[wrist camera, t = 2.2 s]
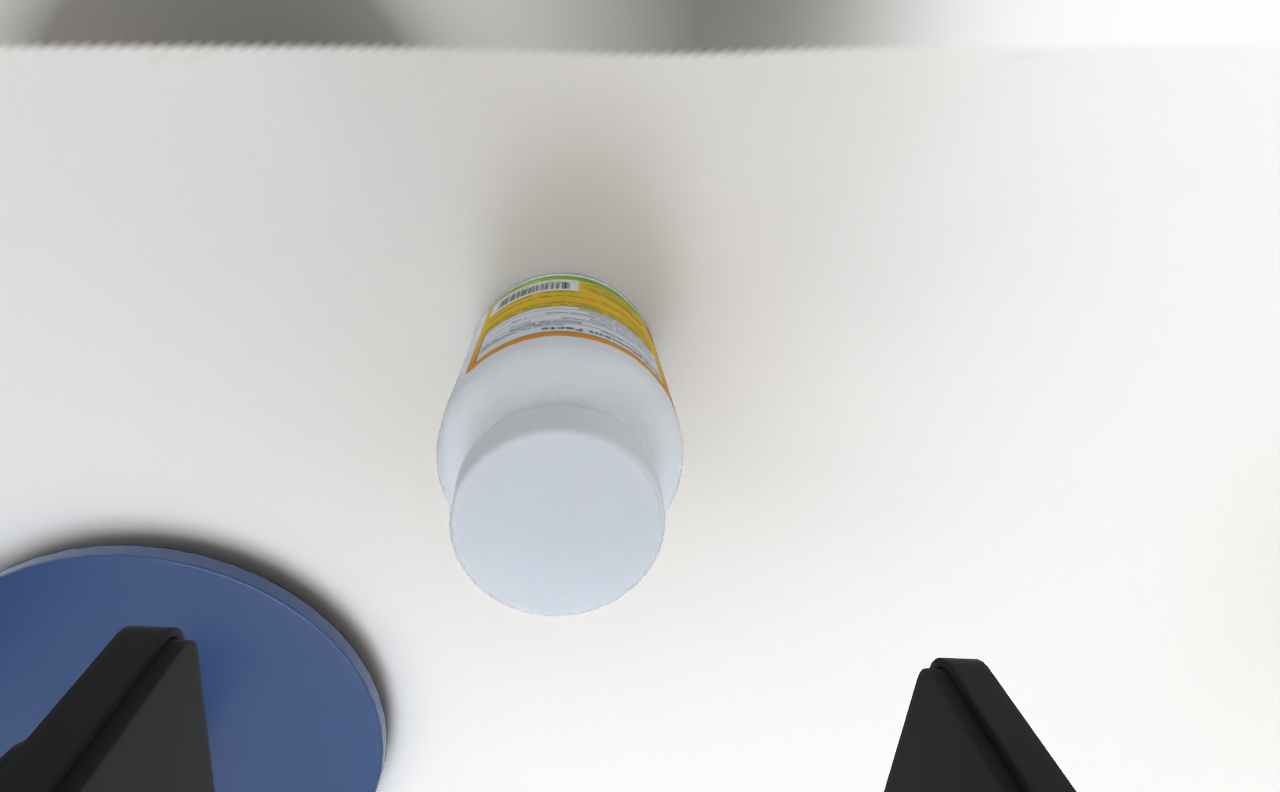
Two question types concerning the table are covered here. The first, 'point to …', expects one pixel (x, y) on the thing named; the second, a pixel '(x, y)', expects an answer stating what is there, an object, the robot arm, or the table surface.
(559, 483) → the supplement bottle
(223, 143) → the table surface
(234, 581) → the tin lid
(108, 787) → the robot arm
